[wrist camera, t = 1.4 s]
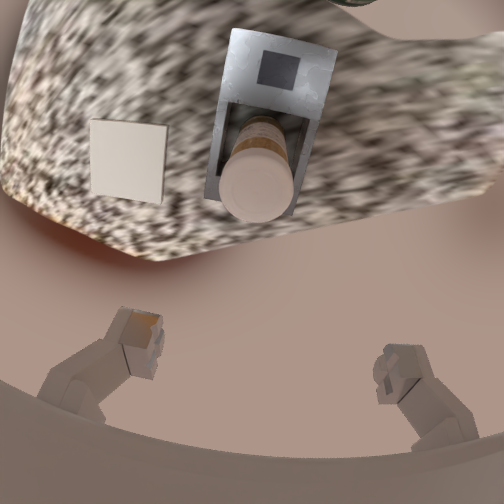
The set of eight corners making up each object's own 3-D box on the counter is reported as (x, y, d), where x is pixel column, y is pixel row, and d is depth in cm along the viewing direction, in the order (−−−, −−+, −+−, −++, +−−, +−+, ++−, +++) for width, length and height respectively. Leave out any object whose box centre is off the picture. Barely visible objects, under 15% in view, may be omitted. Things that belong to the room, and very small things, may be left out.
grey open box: (237, 31, 23) (232, 27, 20) (329, 51, 24) (338, 50, 20) (210, 181, 33) (203, 198, 29) (290, 197, 33) (292, 216, 30)
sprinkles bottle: (255, 165, 31) (244, 237, 20) (230, 129, 29) (202, 181, 18) (294, 143, 30) (307, 205, 19) (270, 105, 27) (268, 142, 17)
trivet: (92, 118, 28) (90, 119, 28) (168, 125, 29) (166, 126, 28) (93, 190, 34) (91, 192, 33) (162, 202, 34) (160, 204, 34)
